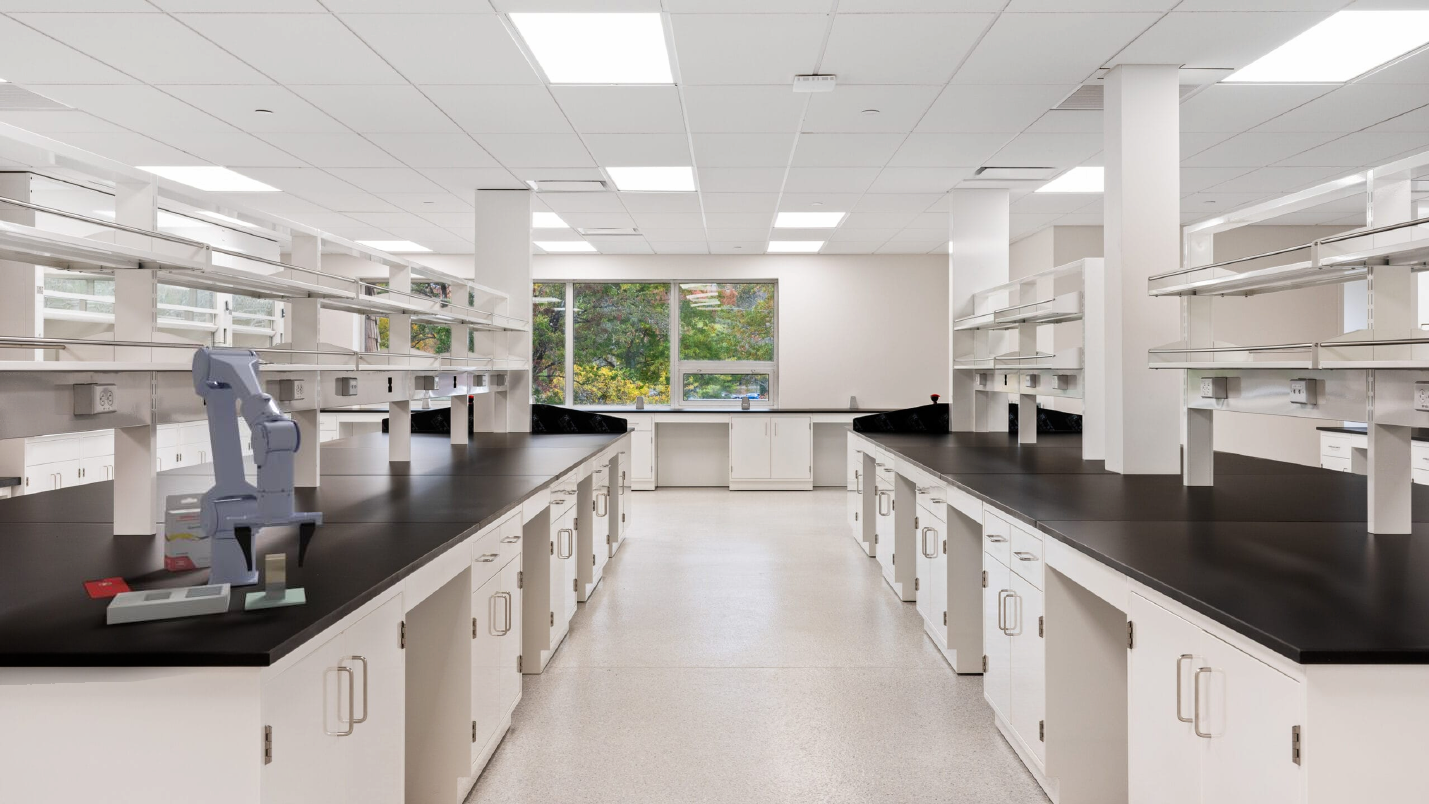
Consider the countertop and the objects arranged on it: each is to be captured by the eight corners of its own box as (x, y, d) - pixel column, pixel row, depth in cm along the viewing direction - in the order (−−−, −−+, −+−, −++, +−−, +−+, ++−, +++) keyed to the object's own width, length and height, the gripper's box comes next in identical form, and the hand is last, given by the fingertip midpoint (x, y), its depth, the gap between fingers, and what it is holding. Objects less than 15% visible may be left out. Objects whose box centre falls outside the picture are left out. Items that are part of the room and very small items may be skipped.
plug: (265, 594, 143) (265, 555, 143) (285, 592, 144) (285, 553, 144) (265, 600, 139) (265, 560, 139) (285, 598, 140) (285, 558, 140)
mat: (246, 595, 143) (246, 593, 143) (303, 590, 148) (303, 587, 148) (244, 609, 135) (244, 607, 135) (305, 603, 139) (305, 601, 139)
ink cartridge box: (170, 572, 160) (170, 497, 160) (163, 568, 163) (163, 495, 163) (219, 565, 166) (219, 493, 166) (211, 561, 170) (211, 491, 169)
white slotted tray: (118, 608, 135) (118, 592, 135) (230, 597, 142) (230, 582, 142) (107, 624, 126) (107, 607, 126) (227, 611, 133) (227, 596, 133)
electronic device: (132, 595, 144) (121, 579, 155) (132, 592, 144) (121, 576, 155) (91, 601, 140) (82, 584, 151) (91, 597, 140) (82, 581, 151)
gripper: (225, 495, 134) (225, 577, 134) (323, 491, 141) (322, 568, 141) (227, 490, 140) (227, 568, 140) (321, 486, 147) (320, 560, 147)
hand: (275, 568), depth 141 cm, fingers open, 7 cm apart
